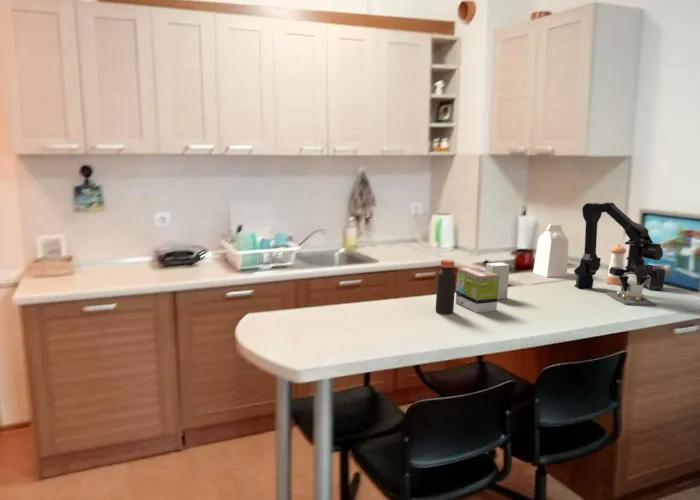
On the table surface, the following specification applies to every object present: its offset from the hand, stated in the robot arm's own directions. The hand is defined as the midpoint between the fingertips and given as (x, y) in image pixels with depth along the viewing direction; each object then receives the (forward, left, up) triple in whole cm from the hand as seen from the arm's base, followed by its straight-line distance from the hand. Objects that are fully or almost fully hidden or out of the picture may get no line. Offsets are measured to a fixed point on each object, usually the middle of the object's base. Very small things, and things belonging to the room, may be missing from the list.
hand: (631, 291), depth 257 cm
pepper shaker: (+8, +33, -4) cm, 34 cm away
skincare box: (-60, -4, -4) cm, 60 cm away
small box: (+23, +25, -4) cm, 34 cm away
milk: (-18, +49, -4) cm, 53 cm away
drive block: (0, 0, -1) cm, 1 cm away
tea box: (-72, -20, -4) cm, 75 cm away
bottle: (-86, -29, -4) cm, 91 cm away
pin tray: (0, 0, -4) cm, 4 cm away
